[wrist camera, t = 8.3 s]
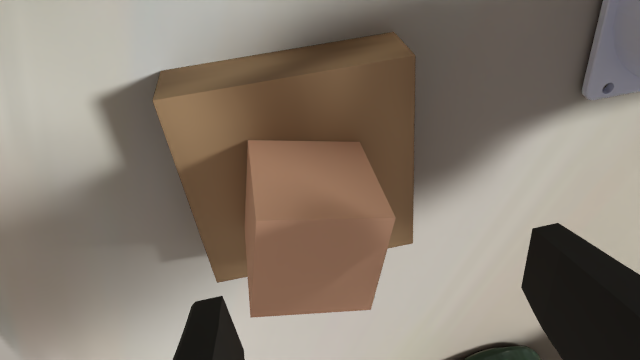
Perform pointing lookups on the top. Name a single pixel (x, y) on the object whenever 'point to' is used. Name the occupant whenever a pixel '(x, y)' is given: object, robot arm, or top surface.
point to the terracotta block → (313, 227)
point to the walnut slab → (287, 127)
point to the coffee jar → (506, 354)
